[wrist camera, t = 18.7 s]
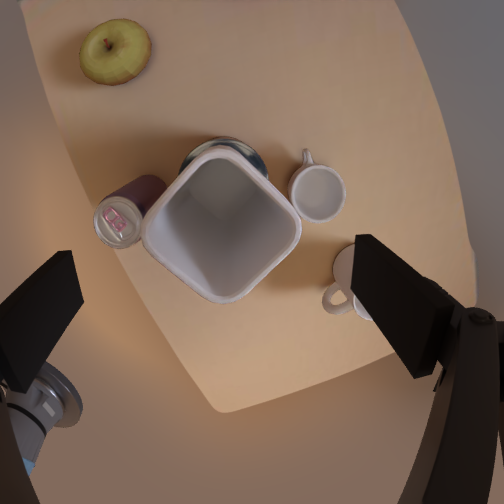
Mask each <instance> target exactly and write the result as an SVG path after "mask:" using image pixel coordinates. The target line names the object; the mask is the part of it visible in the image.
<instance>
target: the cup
mask: <svg viewBox="0 0 504 504" xmlns="http://www.w3.org/2000/svg"><path fill="white" fill-rule="evenodd" d="M301 232H302V225H301V219H300V217H299V215H298V213H297V212H296V210H295V209H294V207H293V206H292V205H291V204H290V203H289V201H288V200H287V199H286V198H285V197H284V196H283V195H282V194H281V193H280V192H279V191H278V190H277V189H276V188H275V187H274V186H273V185H272V184H271V183H270V182H269V181H268V180H267V179H266V178H265V177H264V176H263V175H262V174H261V173H260V172H259V171H258V170H257V169H256V168H255V167H254V166H253V165H252V164H251V163H249V162H248V161H247V160H246V159H245V158H244V157H243V156H242V155H241V154H240V153H239V152H238V151H236V150H235V149H233V148H231V147H230V146H224V145H217V146H213V147H210V148H208V149H206V150H205V151H203V152H202V153H201V154H199V155H198V156H197V157H196V158H195V159H193V161H192V162H191V163H190V164H189V165H188V166H187V167H186V168H185V169H184V170H183V172H182V173H181V174H180V175H179V176H178V177H177V178H176V179H175V180H174V182H173V183H172V184H171V185H170V186H169V187H168V188H167V190H166V191H165V192H164V193H163V194H162V195H161V197H160V198H159V199H158V200H157V201H156V202H155V204H154V205H153V206H152V207H151V208H150V209H149V211H148V212H147V213H146V215H145V217H144V219H143V221H142V223H141V230H140V236H141V240H142V243H143V246H144V247H145V249H146V250H147V251H148V252H149V253H150V255H151V256H152V257H153V258H155V259H156V260H157V261H158V262H159V263H161V264H162V265H163V266H164V267H166V268H167V269H168V270H169V271H170V272H172V273H173V274H174V275H175V276H177V277H178V278H179V279H180V280H181V281H183V282H184V283H185V284H186V285H188V286H189V287H190V288H191V289H193V290H194V291H195V292H197V293H198V294H199V295H200V296H202V297H203V298H205V299H207V300H209V301H211V302H213V303H220V304H226V303H231V302H235V301H237V300H239V299H240V298H242V297H243V296H245V295H246V294H247V293H248V292H249V291H250V290H251V289H252V288H253V287H254V286H256V285H257V284H258V283H259V282H260V281H261V280H262V279H263V278H264V277H265V276H266V275H267V274H268V273H269V272H270V271H271V270H273V269H274V268H275V267H276V266H277V265H278V264H279V263H280V262H281V261H282V260H283V259H284V258H285V257H286V256H287V255H288V254H289V253H290V252H291V251H292V250H293V249H294V248H295V246H296V245H297V243H298V242H299V240H300V236H301Z"/></svg>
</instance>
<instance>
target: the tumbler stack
mask: <svg viewBox="0 0 504 504" xmlns="http://www.w3.org/2000/svg"><path fill="white" fill-rule="evenodd" d="M217 145H224V146H230V147H231V148H233V149H235V150H236V151H238V152H239V153H240V154H241V155H242V156H243V157H244V158H245V159H246V160H247V161H248V162H249V163H251V164H252V165H253V166H254V167H255V168H256V169H257V170H258V171H259V172H260V173H261V174H262V175H263V176H264V177H265V178H266V179H267V180H268V181H269V177H268V172H267V169H266V166H265V164H264V162H263V160H262V159H261V157H260V156H259V155H258V154H257V153H256V151H255V150H253V149H252V148H251V147H249V146H248V145H246V144H245V143H243V142H242V141H240V140H238V139H236V138H232V137H217V138H213V139H211V140H209V141H206V142H204V143H203V144H201V145H199V146H197V147H196V148H195V149H193V150H192V151H191V152H190V153H189V154H188V156H187V157H186V158H185V160H184V161H183V163H182V165H181V167H180V170H179V174H178V176H179V175H180V174H181V173H182V172H183V170H184V169H185V168H186V167H187V166H188V165H189V164H190V163H191V162H192V161H193V159H195V158H196V157H197V156H198V155H199V154H201V153H202V152H203V151H205V150H206V149H208V148H210V147H213V146H217Z"/></svg>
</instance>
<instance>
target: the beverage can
mask: <svg viewBox="0 0 504 504" xmlns="http://www.w3.org/2000/svg"><path fill="white" fill-rule="evenodd" d="M166 190H167V187H166V185H165V183H164V182H163V181H162V180H161V179H160V178H158V177H156V176H153V175H143V176H141V177H139V178H137V179H135V180H133V181H132V182H130V183H128V184H126V185H125V186H123V187H121V188H120V189H118V190H116V191H115V192H113V193H111V194H110V195H108V196H106V197H105V198H104V199H103V200H102V201H101V202H100V204H99V205H98V207H97V208H96V211H95V213H94V219H93V221H94V228H95V231H96V233H97V235H98V237H99V238H100V239H101V241H103V242H104V243H105V244H106V245H108V246H110V247H112V248H117V249H124V248H128V247H130V246H132V245H134V244H136V243H137V242H138V241H140V240H141V236H140V230H141V223H142V221H143V219H144V217H145V215H146V213H147V212H148V211H149V209H150V208H151V207H152V206H153V205H154V204H155V202H156V201H157V200H158V199H159V198H160V197H161V195H162V194H163V193H164V192H165V191H166Z"/></svg>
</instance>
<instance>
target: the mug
mask: <svg viewBox="0 0 504 504" xmlns="http://www.w3.org/2000/svg"><path fill="white" fill-rule="evenodd" d="M354 247H355V244H353V245H350V246H348V247H346V248H345V249H343V250H342V251H341V252H340V253H339V254H338V256H337V257H336V259H335V262H334V265H333V275H334V279H335V281H336V282H334V283H333V284H332V285H331V286H329V287H328V288H327V290H326V291H325V293H324V295H323V297H322V305H323V307H324V309H325V310H326V311H327V312H328V313H331V314H336V315H337V314H343V313H346V312H348V311H351V310H352V309H354V310H355V311H356V313H357V314H358V315H359V316H360V317H362V318H364V319H366V320H373V319H372V318H371V316H370V315H369V314H368V312H367V311H366V310H365V308H364V307H363V305H362V304H361V303H360V301H359V300H358V299H357V297H356V296H355V295H354V293H353V292H352V291H351V289H350V286H351V277H352V268H353V258H354ZM340 289H341V290H342V292H343V293H344V295H345V296H346V298H347V299H348V300H347V301H345V302H344V303H342V304H339V305H332V304H331V302H330V299H331V297H332V295H333V294H334V293H335V292H337V291H338V290H340Z"/></svg>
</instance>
